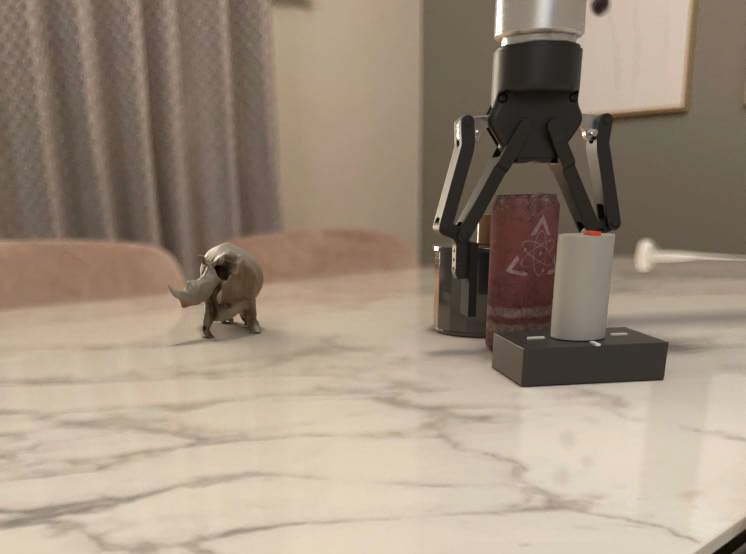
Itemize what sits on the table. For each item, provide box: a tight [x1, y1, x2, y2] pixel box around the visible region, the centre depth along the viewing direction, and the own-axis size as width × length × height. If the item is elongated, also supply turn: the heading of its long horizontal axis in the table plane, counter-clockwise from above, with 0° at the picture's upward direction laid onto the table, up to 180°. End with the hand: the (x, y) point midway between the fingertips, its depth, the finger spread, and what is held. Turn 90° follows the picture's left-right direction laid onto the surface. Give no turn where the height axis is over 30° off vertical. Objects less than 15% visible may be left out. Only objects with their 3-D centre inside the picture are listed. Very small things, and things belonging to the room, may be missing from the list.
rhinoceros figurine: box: [167, 241, 265, 339], centre depth 94 cm, size 8×14×15 cm
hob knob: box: [551, 230, 616, 341], centre depth 69 cm, size 4×4×8 cm
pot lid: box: [431, 212, 491, 253], centre depth 90 cm, size 11×11×4 cm
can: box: [485, 192, 561, 352], centre depth 79 cm, size 6×6×14 cm
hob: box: [491, 326, 669, 387], centre depth 71 cm, size 12×9×3 cm
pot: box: [433, 251, 490, 338], centre depth 92 cm, size 11×16×8 cm, turn 8°
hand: (521, 312), depth 81 cm, fingers open, 10 cm apart
